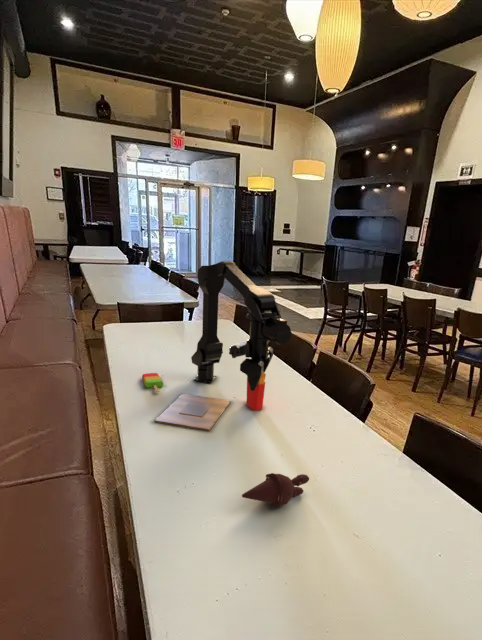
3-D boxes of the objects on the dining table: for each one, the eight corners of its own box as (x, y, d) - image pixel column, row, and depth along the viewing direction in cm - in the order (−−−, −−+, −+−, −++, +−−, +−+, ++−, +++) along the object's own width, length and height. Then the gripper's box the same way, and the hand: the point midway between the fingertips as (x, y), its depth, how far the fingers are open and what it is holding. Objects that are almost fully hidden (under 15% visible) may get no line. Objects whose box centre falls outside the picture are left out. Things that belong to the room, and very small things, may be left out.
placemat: (182, 395, 133) (182, 393, 133) (230, 402, 131) (230, 400, 131) (154, 422, 115) (154, 420, 115) (209, 431, 113) (209, 429, 112)
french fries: (243, 401, 132) (245, 366, 128) (254, 400, 134) (256, 365, 130) (255, 412, 125) (257, 376, 121) (266, 410, 127) (269, 374, 123)
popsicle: (157, 377, 146) (157, 372, 146) (166, 393, 134) (166, 388, 133) (141, 378, 144) (141, 373, 143) (149, 395, 131) (148, 389, 131)
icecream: (253, 498, 77) (319, 486, 84) (239, 469, 82) (302, 460, 89) (244, 522, 80) (309, 509, 88) (232, 493, 86) (293, 482, 93)
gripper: (241, 325, 131) (238, 371, 137) (223, 340, 114) (221, 392, 120) (275, 329, 129) (271, 376, 135) (262, 345, 112) (259, 398, 118)
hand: (256, 385), depth 127 cm, fingers open, 9 cm apart
